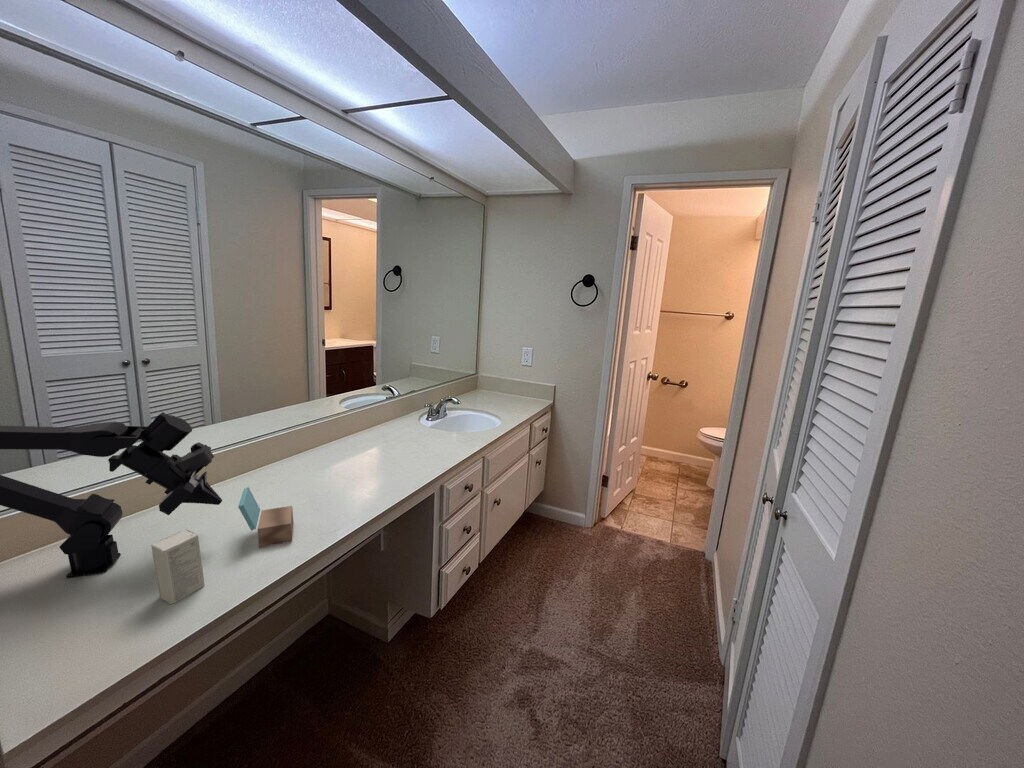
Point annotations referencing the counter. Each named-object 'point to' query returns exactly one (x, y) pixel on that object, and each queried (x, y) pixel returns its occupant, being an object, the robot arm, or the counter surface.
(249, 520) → the lid
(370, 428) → the counter surface
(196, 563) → the skincare box
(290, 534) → the case
